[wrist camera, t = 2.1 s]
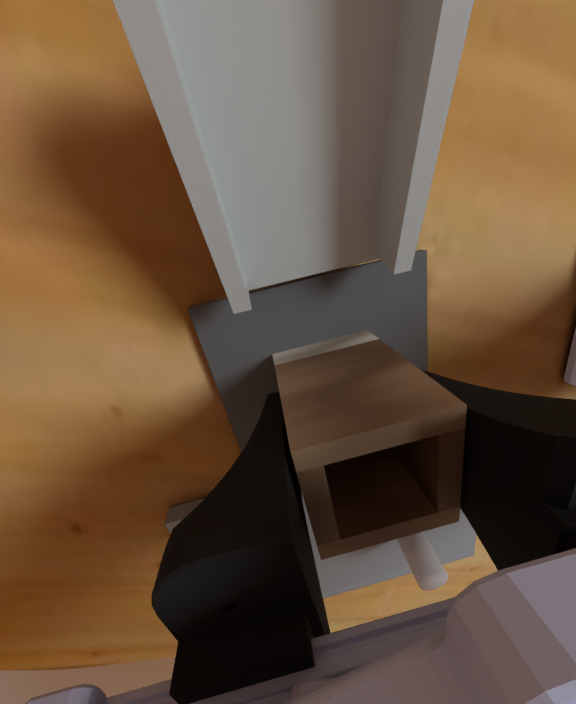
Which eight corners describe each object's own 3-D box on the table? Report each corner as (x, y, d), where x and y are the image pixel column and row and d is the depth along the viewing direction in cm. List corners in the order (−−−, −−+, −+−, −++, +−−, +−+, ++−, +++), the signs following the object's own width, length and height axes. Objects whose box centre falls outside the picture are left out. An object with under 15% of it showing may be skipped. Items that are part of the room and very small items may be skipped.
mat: (420, 250, 11) (426, 250, 11) (423, 432, 15) (427, 437, 15) (189, 306, 11) (187, 308, 11) (253, 477, 15) (253, 483, 15)
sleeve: (367, 330, 12) (466, 404, 6) (375, 409, 14) (458, 521, 8) (272, 354, 12) (290, 451, 6) (292, 431, 14) (321, 560, 8)
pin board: (472, 425, 16) (541, 482, 12) (463, 541, 20) (511, 608, 16) (169, 507, 15) (142, 593, 11) (228, 607, 19) (223, 692, 16)
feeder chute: (359, -35, 8) (589, -620, 2) (381, 265, 11) (497, 285, 6) (150, 9, 7) (-83, -527, 2) (237, 300, 11) (224, 354, 6)
